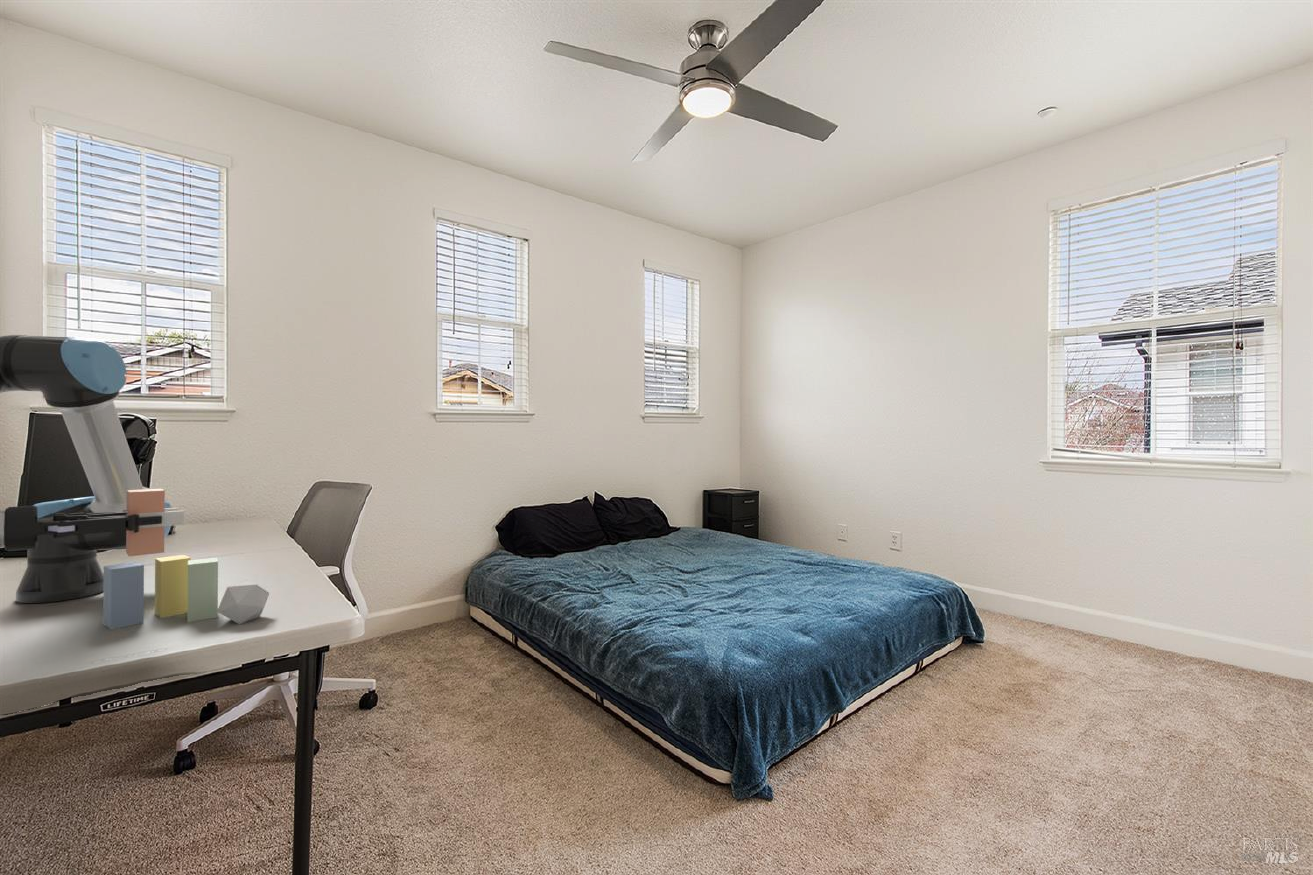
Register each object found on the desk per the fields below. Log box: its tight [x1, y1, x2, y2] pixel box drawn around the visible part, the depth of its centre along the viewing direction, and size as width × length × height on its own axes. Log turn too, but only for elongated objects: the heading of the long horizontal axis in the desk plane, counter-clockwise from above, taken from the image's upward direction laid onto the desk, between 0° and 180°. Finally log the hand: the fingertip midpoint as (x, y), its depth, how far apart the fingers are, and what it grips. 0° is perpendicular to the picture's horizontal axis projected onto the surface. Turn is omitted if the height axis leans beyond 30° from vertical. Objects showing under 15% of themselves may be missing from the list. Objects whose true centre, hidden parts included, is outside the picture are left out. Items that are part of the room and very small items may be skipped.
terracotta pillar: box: [125, 488, 166, 557], centre depth 109 cm, size 5×5×12 cm
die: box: [217, 580, 270, 625], centre depth 120 cm, size 8×9×10 cm
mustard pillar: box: [154, 554, 192, 619], centre depth 124 cm, size 5×5×12 cm
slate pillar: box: [102, 561, 145, 630], centre depth 117 cm, size 5×5×12 cm
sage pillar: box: [186, 557, 219, 623], centre depth 122 cm, size 5×5×12 cm
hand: (180, 515), depth 113 cm, fingers closed on terracotta pillar, 5 cm apart
